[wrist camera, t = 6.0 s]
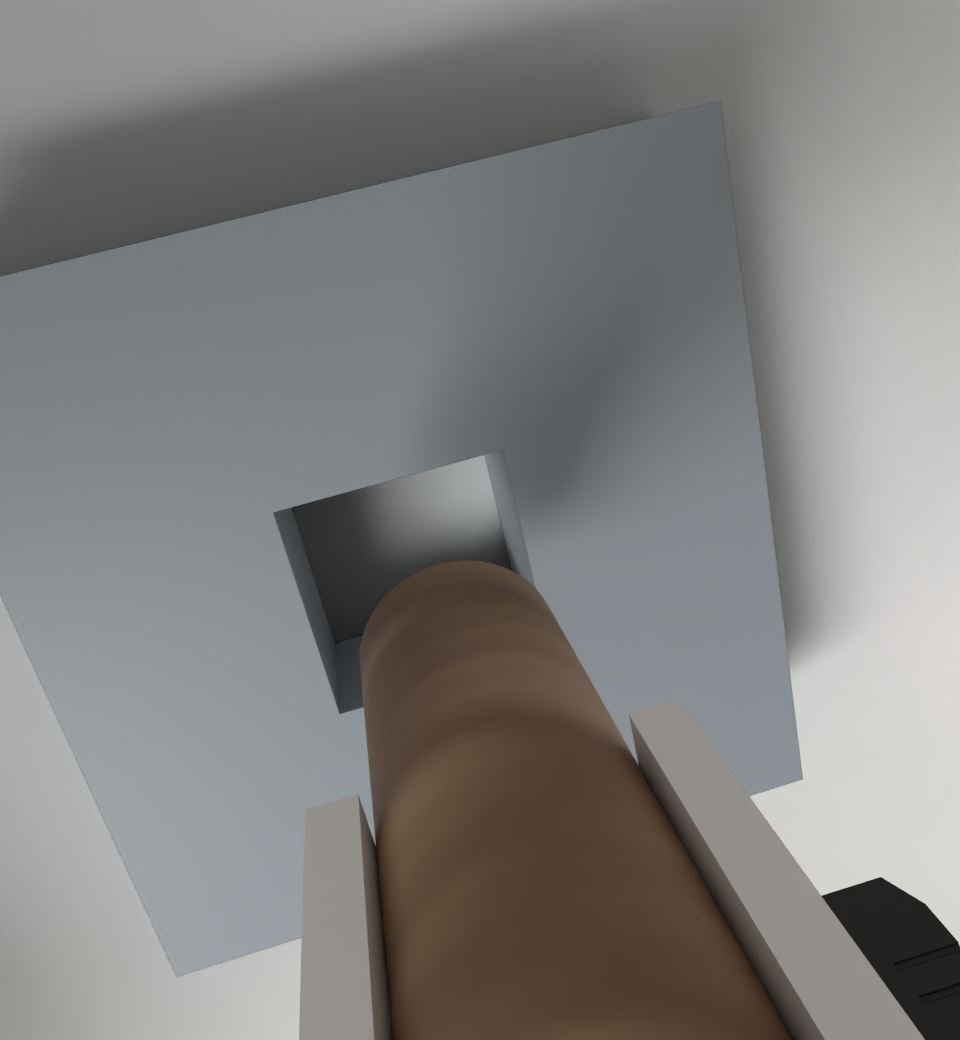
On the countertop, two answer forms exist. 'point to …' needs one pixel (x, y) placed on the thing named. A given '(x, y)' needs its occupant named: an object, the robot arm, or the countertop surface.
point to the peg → (528, 837)
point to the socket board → (376, 459)
